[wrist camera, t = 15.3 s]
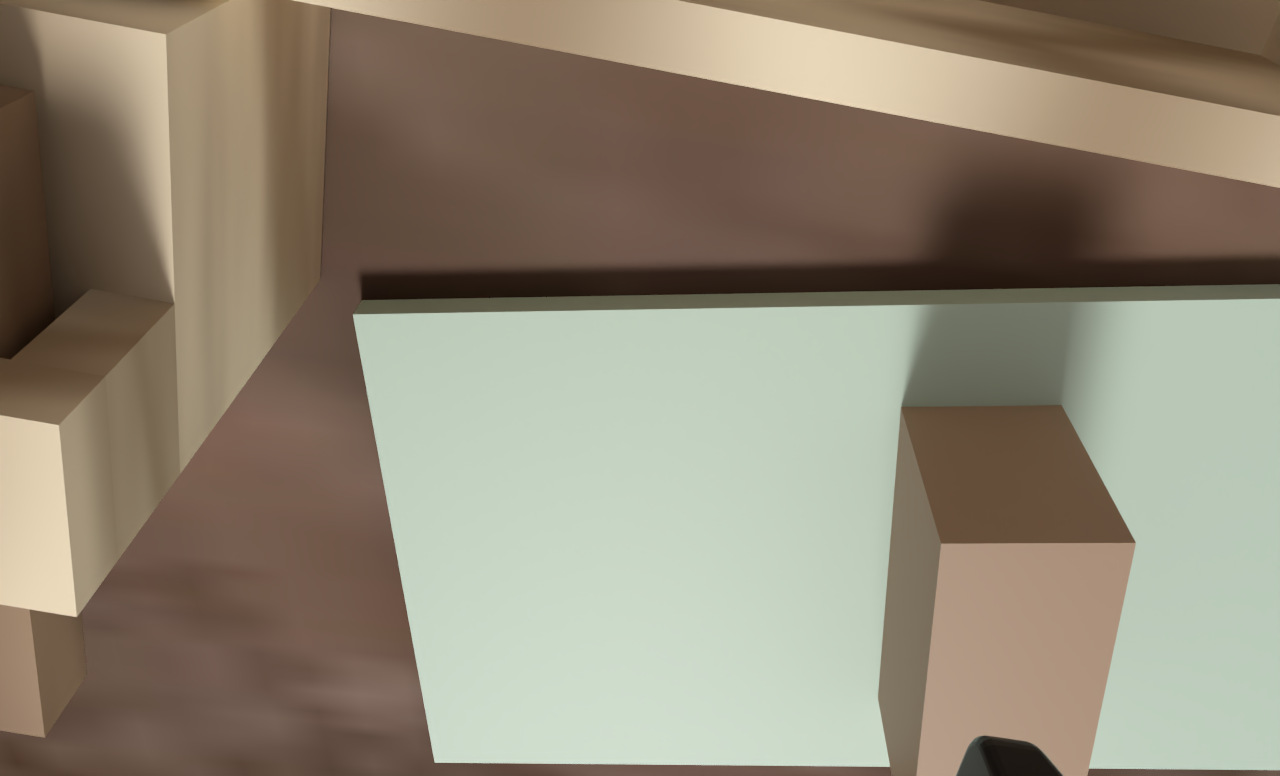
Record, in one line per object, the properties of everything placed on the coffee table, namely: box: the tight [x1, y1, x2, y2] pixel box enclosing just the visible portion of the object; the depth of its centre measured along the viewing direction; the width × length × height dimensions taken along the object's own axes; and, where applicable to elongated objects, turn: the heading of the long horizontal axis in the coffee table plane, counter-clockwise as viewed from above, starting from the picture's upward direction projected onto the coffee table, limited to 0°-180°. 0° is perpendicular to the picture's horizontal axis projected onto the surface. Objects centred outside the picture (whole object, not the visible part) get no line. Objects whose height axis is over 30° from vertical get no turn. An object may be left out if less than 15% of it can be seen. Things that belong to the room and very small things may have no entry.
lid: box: [353, 284, 1280, 776], centre depth 21 cm, size 22×11×5 cm, turn 92°
